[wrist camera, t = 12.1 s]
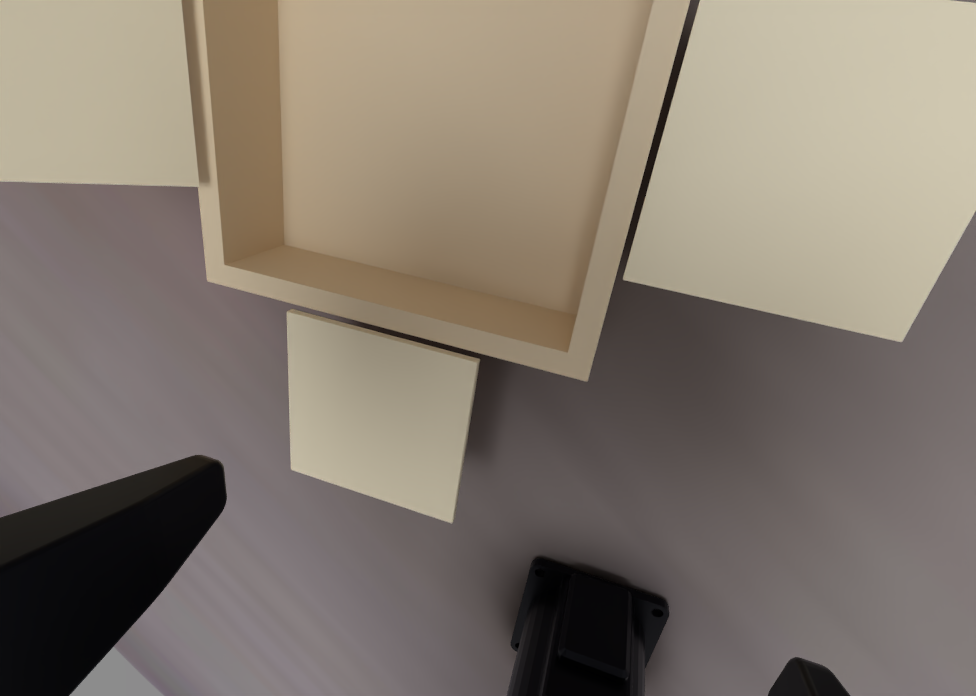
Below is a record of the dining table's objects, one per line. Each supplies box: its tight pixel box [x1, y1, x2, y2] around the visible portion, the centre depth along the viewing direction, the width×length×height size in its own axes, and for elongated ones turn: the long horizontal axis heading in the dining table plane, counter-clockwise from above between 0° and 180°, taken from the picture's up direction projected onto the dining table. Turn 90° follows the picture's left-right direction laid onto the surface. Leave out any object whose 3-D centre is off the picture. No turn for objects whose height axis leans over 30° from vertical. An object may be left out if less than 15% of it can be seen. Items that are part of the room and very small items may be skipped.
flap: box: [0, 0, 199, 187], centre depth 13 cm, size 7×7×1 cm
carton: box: [181, 0, 976, 523], centre depth 17 cm, size 21×21×4 cm
